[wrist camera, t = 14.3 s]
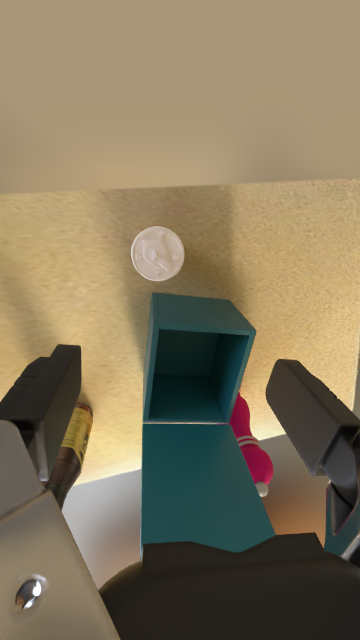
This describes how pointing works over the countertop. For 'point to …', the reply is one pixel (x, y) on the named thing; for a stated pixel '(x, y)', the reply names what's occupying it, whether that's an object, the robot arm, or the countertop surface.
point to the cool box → (194, 359)
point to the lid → (199, 489)
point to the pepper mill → (251, 447)
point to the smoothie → (157, 253)
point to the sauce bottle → (70, 454)
